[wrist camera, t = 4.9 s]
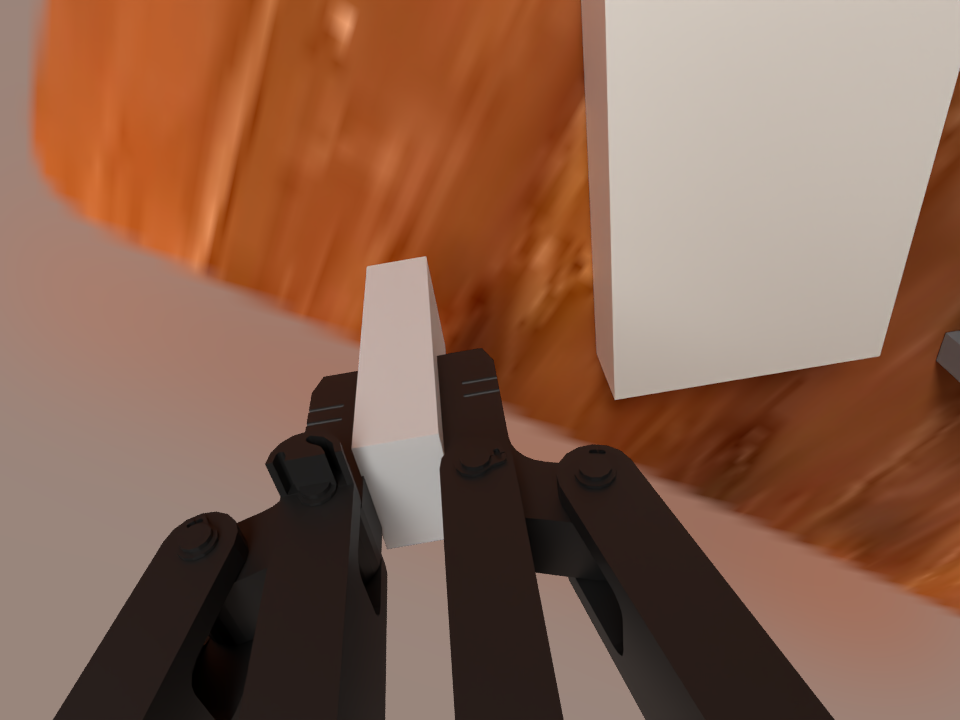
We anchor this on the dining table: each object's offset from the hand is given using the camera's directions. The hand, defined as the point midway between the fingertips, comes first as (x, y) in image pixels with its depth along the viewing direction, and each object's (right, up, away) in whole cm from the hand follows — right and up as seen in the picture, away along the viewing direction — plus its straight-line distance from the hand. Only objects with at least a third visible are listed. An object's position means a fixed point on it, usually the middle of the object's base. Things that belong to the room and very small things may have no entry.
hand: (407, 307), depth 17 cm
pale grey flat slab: (+10, +6, +5) cm, 13 cm away
